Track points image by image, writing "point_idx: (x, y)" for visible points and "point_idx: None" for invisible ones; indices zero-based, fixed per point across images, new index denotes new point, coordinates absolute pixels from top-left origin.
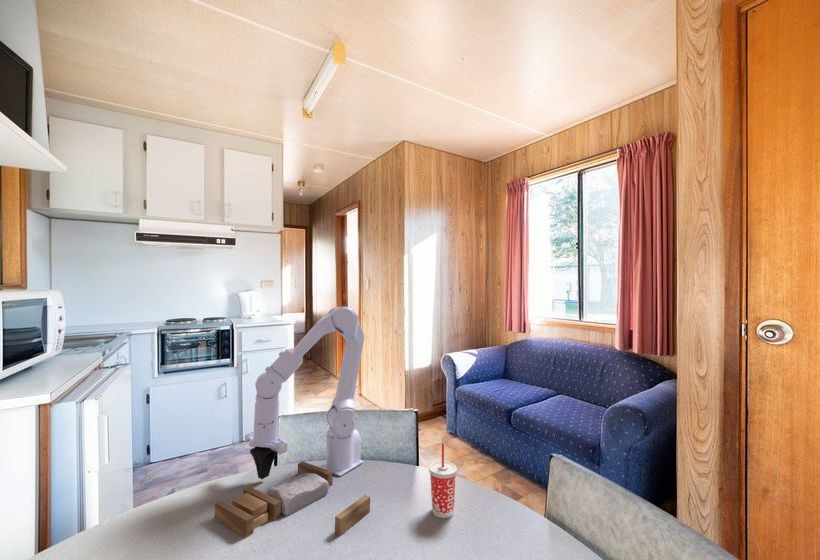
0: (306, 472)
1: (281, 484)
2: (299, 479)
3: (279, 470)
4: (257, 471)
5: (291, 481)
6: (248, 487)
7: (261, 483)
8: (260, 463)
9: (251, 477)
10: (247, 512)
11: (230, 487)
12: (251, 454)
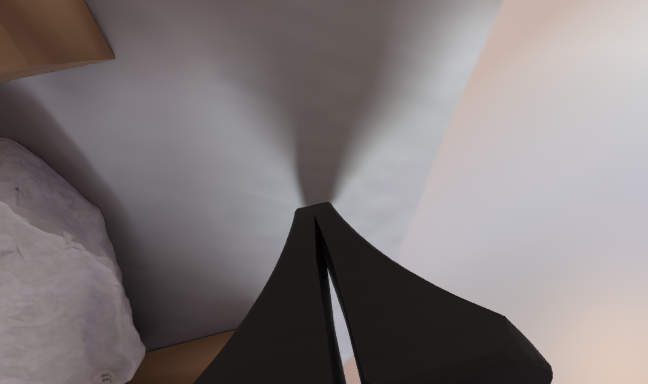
0: (191, 369)
1: (100, 272)
2: (9, 366)
3: None
4: (336, 219)
5: (91, 318)
6: (3, 44)
7: (306, 196)
8: (281, 287)
9: (415, 180)
10: None
11: (411, 34)
12: (460, 301)
